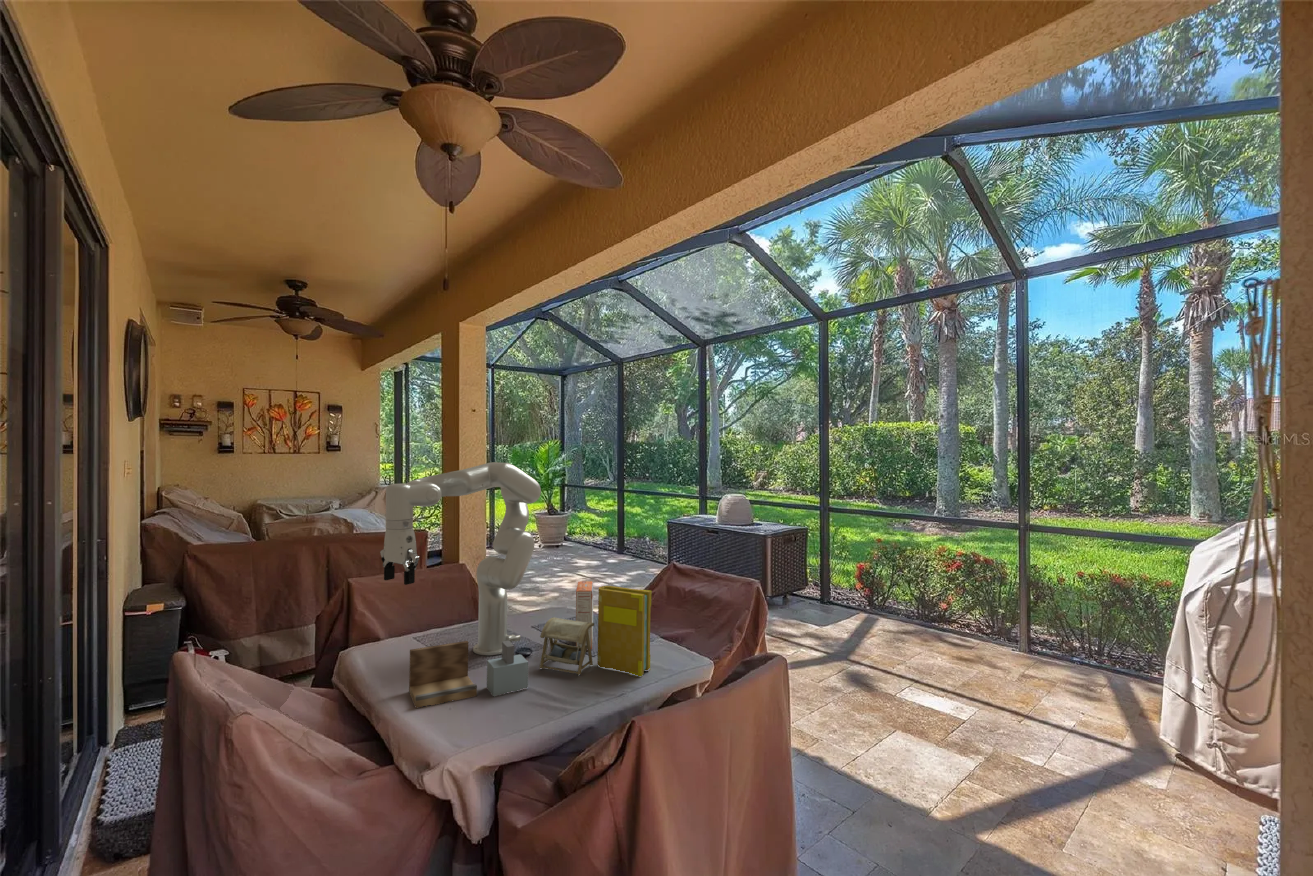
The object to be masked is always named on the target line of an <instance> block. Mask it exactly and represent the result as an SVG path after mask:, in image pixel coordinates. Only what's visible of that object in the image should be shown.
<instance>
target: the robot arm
mask: <svg viewBox="0 0 1313 876" xmlns="http://www.w3.org/2000/svg"><path fill="white" fill-rule="evenodd" d="M491 488H500V494H501V496H502V499H503V501H504V504H505V512H504V516H503V519H502V521H501V522H500V523H501V524H500V525H499V528H498V530H497V533H495V534H496V535H495V537H494V539H493V542H492V548H493V550H494V552H496V553H497V554H499V555H501V556H504V557H505V558H501V557H495V556H487V557H485V558H484V559H482V560H481V561H480V562H479V563H478V565H477V567H476V582H477V587H478V589H477V590H478V620H477V621H478V622H477V623H478V626H477V627H478V628H477V631H478V632H477V643H476V644H474V645H473V646H472V647H473V648H472V649H473V650H472V651H473V652H474V653H475V654H476V655H479V656H496V655H502V642H504V641H510V642H511V643H512V644H513V642H520V641H521V635H520V634H516V635H515V634H510V635H509V634H508V631H507V630H508V591H509V590H514V589H515V588H517V586H518V585H520V584H521V582H522V579H524V576H525V574H526V571H527V569H528V567H529V563H530V561H531V560H532V558H533V557H532V556H533V554H534V550H535V539H534V537H533V535H532V534H531V533H530V532H528V531H526V527H527V525H528V522H529V519H530V518H529V517H530V510H529V507H528V504H534V503H536V502H537V501H538V500H539V499H540V497H541V494H542V489H541V485H540V484H539V482H538V481H537V480H536V479H534V478H533V477H531V476H530V475H529V474H527V473H526V472H525V471H523V470H522V469H520V468H518V467H517V466H515V465H514V464H512V463H509V462H494V461H493V462H487V463H483V464H479V465H476V466H475V465H474V466H471V467H468V468H463V469H460V470H454V471H447V472H446V473H445V472H444V473H439V474H433V475H429V476H424V477H420V478H417V479H412V480H409V482H406V483H391V484H388V485H387V486H386V488H385V533H384V542H383V549H382V550H380V551H379V553H380V556H381V561H382V567H383V580H384V581H389V580H394V579H395V577H396V576H395V575H396V574H395V569H396V567H395V565H394V564H399V565H402V566H403V567H404V571H403V585H405V586H406V585H411V584H414V583H416V582H415V581H416V580H415V578H416V576H415V571H416V570H417V566H418V564H419V560H420V556H419V555H418V554H417V541H416V540H417V539H416V534H415V529H414V507H431V506H432V507H433V506H434V505H436V504H438V503H439V502H440V500H441V499H442V497H460V496H461V497H462V496H467V495H468V496H469V495H471V494H475V493H479V492H482V491H484V490H488V489H491Z"/></svg>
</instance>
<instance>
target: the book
mask: <svg viewBox="0 0 1313 876" xmlns="http://www.w3.org/2000/svg"><path fill="white" fill-rule="evenodd" d="M597 594H598V602H597V603H598V605H597V610H598V611H597V663H596V664H598V665H599V666H600V667H605V668H613V669H616V670H620V671H625V672H629V673H632V674H635V675H638V676H642V675H643V674H644V672H645V671H644V670H648V669H649V668H650V669H651V613H652V612H651V607H652V590H648V589H638V588H629V587H622V586H621V587H620V586H613V585H601V586H599V587H598V593H597ZM643 676H644V675H643ZM643 676H642V677H643Z"/></svg>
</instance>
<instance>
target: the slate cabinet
mask: <svg viewBox="0 0 1313 876" xmlns="http://www.w3.org/2000/svg"><path fill="white" fill-rule="evenodd" d="M486 661H487V662H486V664H487V665H486V689H487V688H488V689H487V690H488V692H491V693H490V694H491V696H492V697H493V696H494V697H497V696H496V695H499V696H501V695H500V694H503V695H505V694H504V693H507V692H511V691H517V690H520V689H523V688H527V687H528V688H529V661H528V660H527V659H526V658H525V656H523V655H522V654H515V645H514V644H513V642H512V643H511V642H510V641H504V642H502V654H501V657H499V658H498V657H497V658H492V659H487V660H486Z"/></svg>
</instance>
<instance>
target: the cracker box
mask: <svg viewBox="0 0 1313 876" xmlns="http://www.w3.org/2000/svg"><path fill="white" fill-rule="evenodd" d="M576 585H577V586H576V589H575V621H580V622H589V623H594V581H592V580H589V581H586V580H579V581H577V584H576ZM588 633H589V640H590V646H591V649H592V650H593V639H594V638H593V637H594V636H593V635H594V626H592V627H590V628H589V629H588ZM578 644H579V643H578V642H575V647H578ZM585 645H587V643H586V644H585ZM579 647H582V644H579Z"/></svg>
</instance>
